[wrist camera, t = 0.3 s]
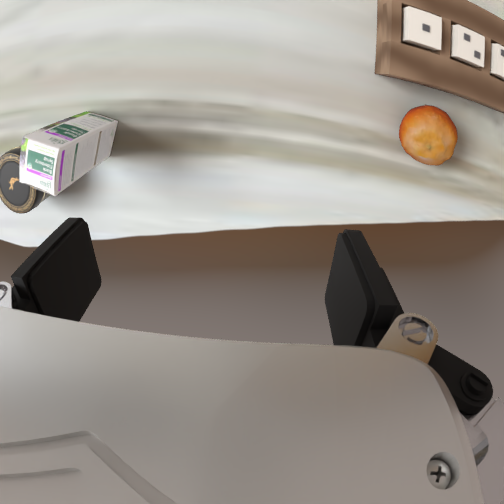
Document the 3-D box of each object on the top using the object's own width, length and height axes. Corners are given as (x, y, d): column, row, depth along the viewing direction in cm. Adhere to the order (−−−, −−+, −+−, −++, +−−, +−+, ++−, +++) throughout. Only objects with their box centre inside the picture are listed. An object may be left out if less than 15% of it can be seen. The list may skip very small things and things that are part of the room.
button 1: (401, 8, 24) (409, 5, 22) (433, 19, 24) (442, 17, 22) (401, 40, 26) (409, 39, 24) (433, 50, 26) (441, 50, 24)
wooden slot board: (377, -19, 25) (390, -29, 20) (502, 31, 24) (521, 31, 20) (374, 73, 32) (388, 74, 28) (497, 110, 32) (517, 117, 27)
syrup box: (119, 119, 37) (59, 145, 24) (110, 158, 40) (54, 198, 27) (86, 110, 36) (21, 134, 23) (79, 148, 39) (17, 184, 26)
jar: (17, 177, 41) (-11, 195, 34) (30, 127, 36) (-1, 140, 30) (55, 205, 44) (30, 226, 37) (72, 154, 39) (44, 171, 33)
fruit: (461, 129, 33) (470, 160, 29) (419, 149, 39) (420, 182, 35) (432, 82, 30) (438, 107, 26) (388, 108, 37) (385, 135, 33)
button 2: (449, 25, 24) (459, 24, 22) (476, 37, 24) (485, 36, 22) (449, 56, 26) (458, 56, 24) (475, 66, 26) (484, 67, 24)
